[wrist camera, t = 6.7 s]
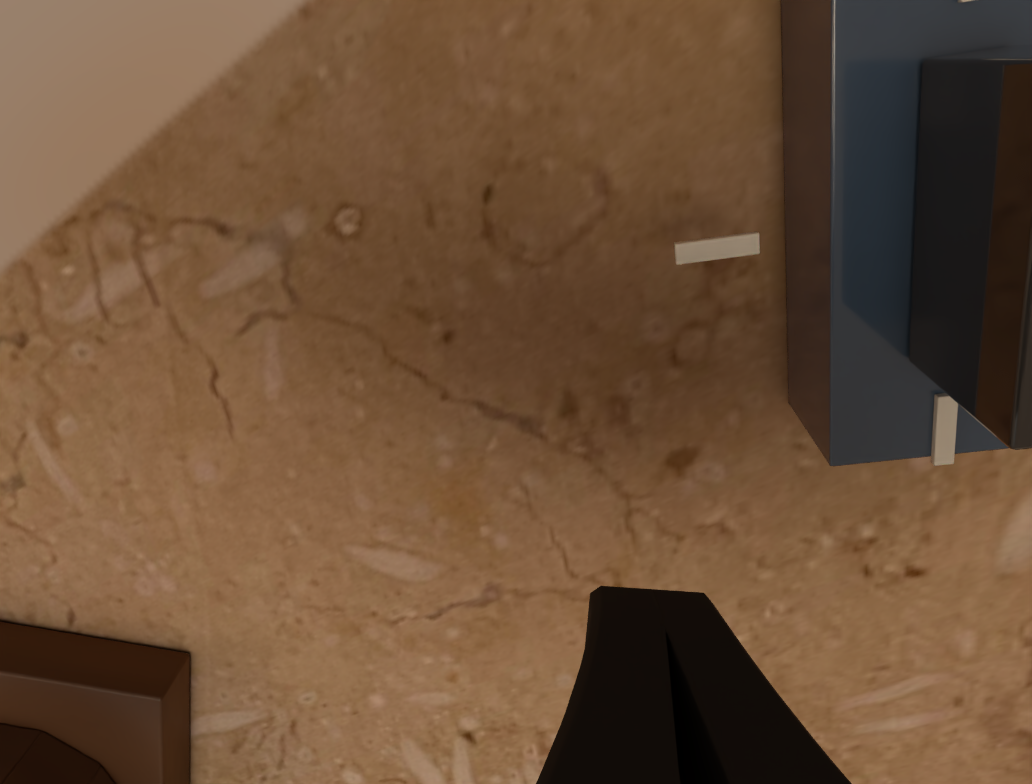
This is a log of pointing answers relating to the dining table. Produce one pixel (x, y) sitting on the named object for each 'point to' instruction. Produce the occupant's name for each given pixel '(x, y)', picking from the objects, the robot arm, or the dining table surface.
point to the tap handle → (976, 237)
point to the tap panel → (863, 219)
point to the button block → (91, 710)
